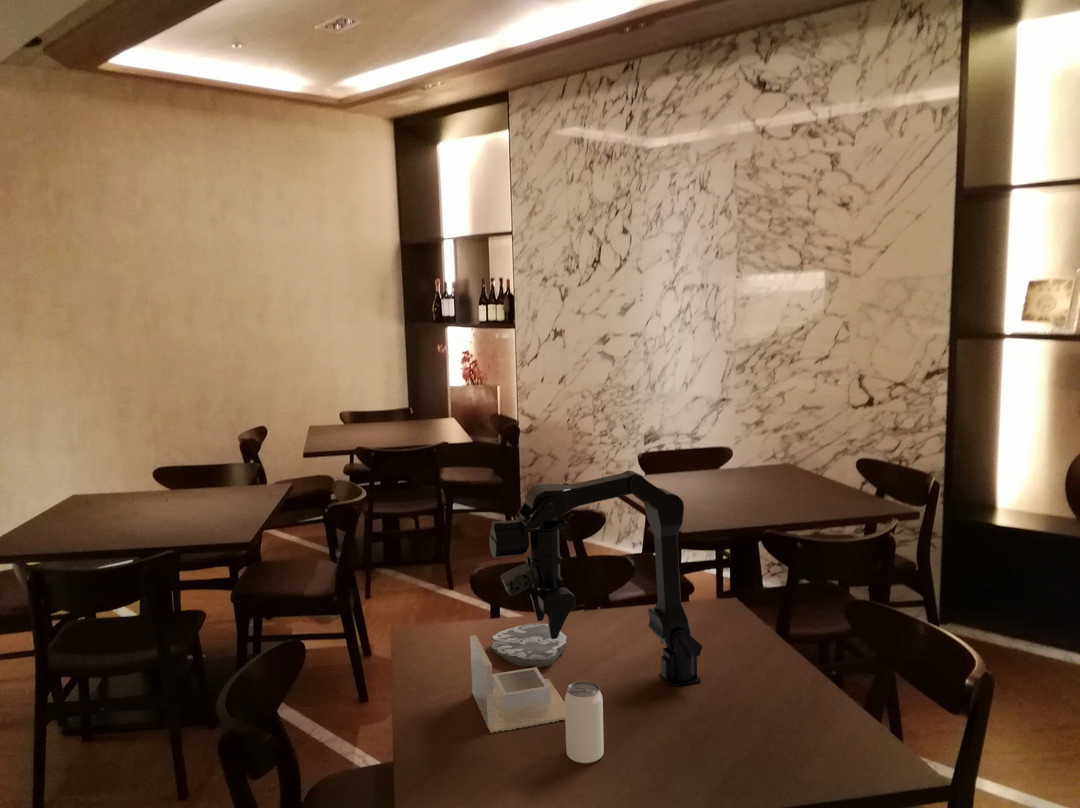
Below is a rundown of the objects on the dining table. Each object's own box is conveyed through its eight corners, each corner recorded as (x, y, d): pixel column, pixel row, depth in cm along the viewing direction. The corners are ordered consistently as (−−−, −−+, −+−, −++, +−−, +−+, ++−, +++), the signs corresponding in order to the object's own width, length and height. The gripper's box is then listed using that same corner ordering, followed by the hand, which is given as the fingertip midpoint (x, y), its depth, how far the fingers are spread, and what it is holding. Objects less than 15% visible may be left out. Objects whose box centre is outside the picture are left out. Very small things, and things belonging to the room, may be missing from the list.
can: (601, 766, 134) (599, 698, 133) (563, 763, 135) (561, 696, 134) (605, 745, 140) (604, 680, 139) (569, 742, 142) (567, 678, 140)
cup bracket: (548, 681, 165) (546, 622, 164) (573, 718, 150) (571, 654, 148) (471, 693, 161) (469, 634, 159) (489, 733, 145) (486, 668, 144)
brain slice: (495, 635, 190) (495, 623, 189) (567, 635, 189) (566, 622, 188) (486, 673, 170) (486, 660, 170) (566, 672, 169) (565, 659, 169)
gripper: (492, 542, 160) (495, 617, 162) (516, 571, 142) (519, 655, 144) (545, 536, 163) (547, 610, 165) (575, 564, 145) (577, 646, 147)
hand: (546, 629), depth 155 cm, fingers open, 9 cm apart
